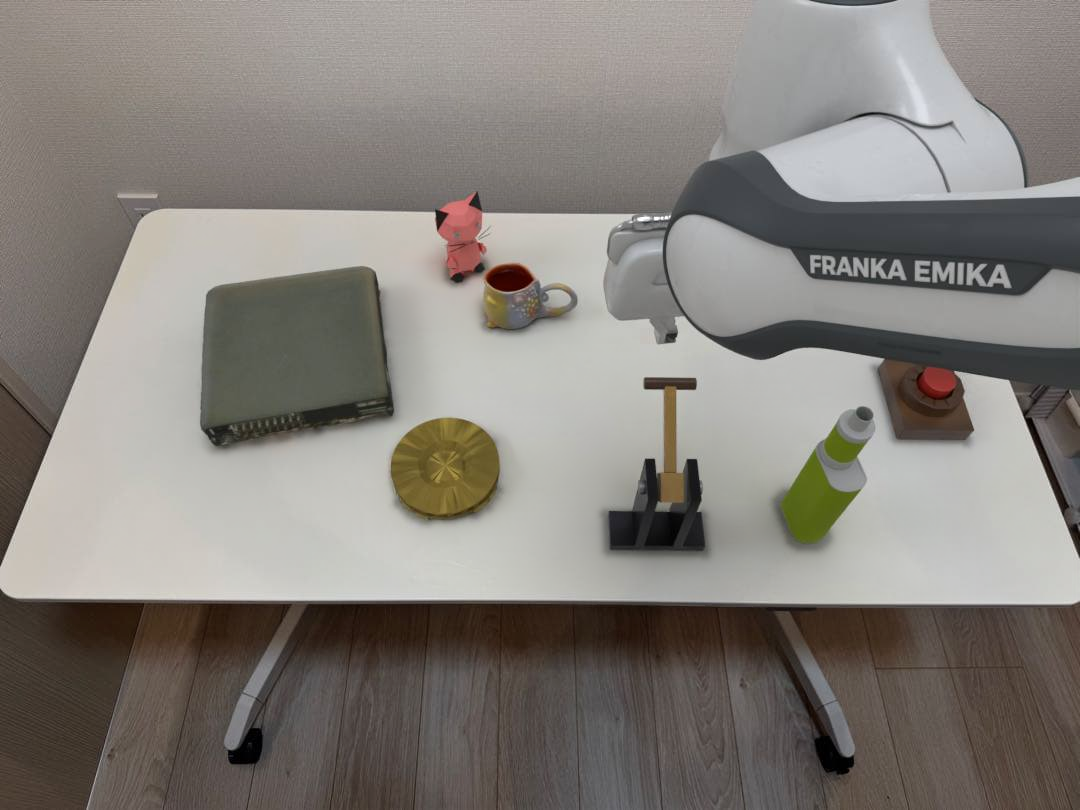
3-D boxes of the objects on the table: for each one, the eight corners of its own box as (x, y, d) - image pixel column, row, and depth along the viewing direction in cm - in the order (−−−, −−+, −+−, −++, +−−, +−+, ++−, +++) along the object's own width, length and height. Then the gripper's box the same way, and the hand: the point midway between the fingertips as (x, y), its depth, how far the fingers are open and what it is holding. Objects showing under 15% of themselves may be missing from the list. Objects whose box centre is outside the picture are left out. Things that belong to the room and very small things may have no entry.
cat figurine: (453, 295, 100) (444, 228, 90) (428, 262, 103) (417, 194, 93) (499, 273, 103) (496, 205, 92) (473, 241, 106) (467, 172, 95)
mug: (478, 329, 97) (475, 294, 92) (489, 288, 101) (487, 253, 95) (572, 342, 96) (574, 308, 91) (579, 300, 100) (582, 265, 94)
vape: (808, 490, 85) (874, 391, 69) (828, 540, 82) (904, 449, 65) (776, 496, 85) (835, 398, 68) (795, 546, 82) (863, 456, 65)
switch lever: (642, 378, 75) (645, 375, 73) (693, 379, 75) (698, 376, 73) (642, 501, 74) (645, 502, 72) (693, 501, 74) (698, 503, 72)
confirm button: (953, 399, 88) (960, 391, 86) (921, 399, 88) (928, 391, 86) (944, 374, 90) (951, 365, 88) (913, 373, 90) (920, 365, 88)
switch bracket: (608, 513, 84) (618, 457, 73) (699, 514, 84) (723, 458, 73) (609, 551, 81) (620, 499, 71) (703, 552, 81) (729, 500, 71)
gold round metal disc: (396, 529, 83) (393, 521, 81) (390, 434, 89) (387, 425, 87) (506, 513, 84) (506, 505, 82) (493, 421, 90) (492, 411, 88)
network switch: (215, 470, 86) (199, 448, 82) (196, 316, 98) (180, 290, 94) (417, 413, 91) (411, 390, 86) (374, 272, 102) (368, 246, 98)
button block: (965, 439, 89) (982, 422, 86) (896, 439, 89) (911, 421, 86) (942, 369, 94) (957, 350, 91) (877, 369, 94) (890, 349, 91)
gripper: (618, 253, 49) (600, 374, 61) (926, 232, 50) (850, 355, 62) (604, 184, 52) (589, 312, 64) (893, 166, 53) (827, 295, 65)
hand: (720, 333), depth 63 cm, fingers open, 8 cm apart
